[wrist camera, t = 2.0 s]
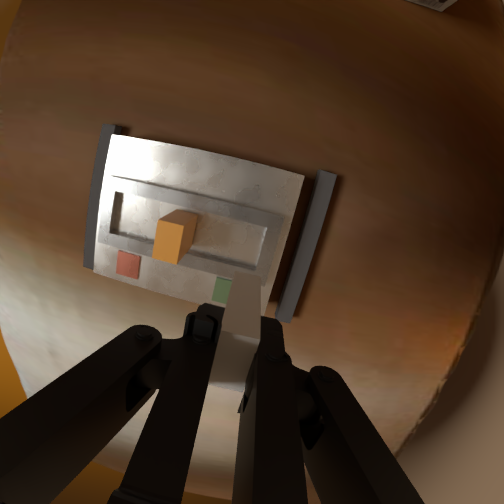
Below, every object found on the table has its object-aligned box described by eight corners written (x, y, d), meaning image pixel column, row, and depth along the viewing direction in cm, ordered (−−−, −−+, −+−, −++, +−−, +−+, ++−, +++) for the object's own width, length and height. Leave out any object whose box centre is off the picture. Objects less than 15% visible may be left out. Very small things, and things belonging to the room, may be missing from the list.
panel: (129, 137, 28) (107, 133, 23) (299, 174, 29) (306, 176, 24) (110, 260, 32) (88, 275, 27) (262, 301, 33) (262, 324, 28)
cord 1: (109, 125, 28) (102, 123, 26) (122, 126, 28) (115, 125, 26) (89, 262, 32) (83, 266, 31) (100, 265, 32) (94, 270, 31)
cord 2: (318, 169, 28) (321, 169, 27) (333, 174, 29) (337, 174, 27) (274, 313, 33) (275, 320, 31) (288, 316, 33) (289, 323, 31)
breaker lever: (176, 209, 26) (158, 219, 21) (198, 214, 26) (183, 225, 21) (170, 241, 27) (151, 257, 22) (191, 246, 27) (176, 264, 22)
